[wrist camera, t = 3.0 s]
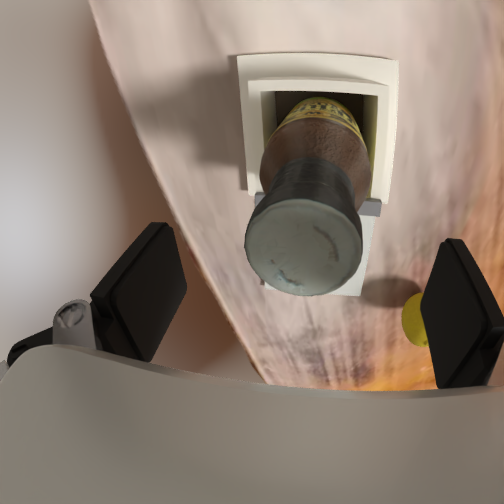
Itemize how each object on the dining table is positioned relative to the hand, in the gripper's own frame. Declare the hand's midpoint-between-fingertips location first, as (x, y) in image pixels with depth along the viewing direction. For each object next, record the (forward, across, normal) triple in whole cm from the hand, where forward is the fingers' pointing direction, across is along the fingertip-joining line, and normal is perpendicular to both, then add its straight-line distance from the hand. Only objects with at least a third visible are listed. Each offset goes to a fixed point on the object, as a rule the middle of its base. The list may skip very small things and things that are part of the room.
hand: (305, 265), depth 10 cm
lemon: (+20, -15, +19) cm, 31 cm away
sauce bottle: (+20, 0, -1) cm, 20 cm away
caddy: (+20, -1, -1) cm, 20 cm away
